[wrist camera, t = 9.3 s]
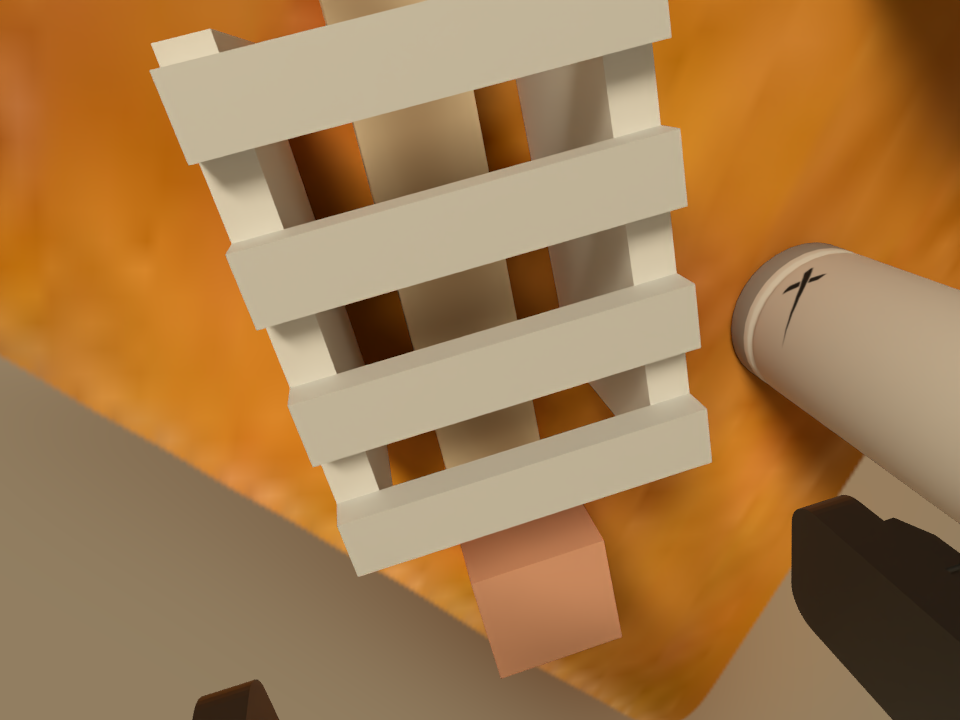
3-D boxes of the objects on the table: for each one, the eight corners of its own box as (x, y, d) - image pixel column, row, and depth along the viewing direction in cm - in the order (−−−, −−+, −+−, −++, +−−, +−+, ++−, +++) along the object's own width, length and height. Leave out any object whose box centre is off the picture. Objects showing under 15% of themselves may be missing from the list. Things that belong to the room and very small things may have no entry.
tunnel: (532, -27, 22) (659, -88, 13) (596, 351, 28) (713, 476, 19) (217, 52, 21) (137, 41, 12) (353, 425, 27) (363, 590, 18)
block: (554, 454, 30) (603, 540, 24) (573, 540, 32) (622, 637, 26) (445, 488, 29) (471, 584, 24) (471, 573, 31) (500, 678, 26)
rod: (341, -437, 18) (344, -589, 14) (514, 410, 29) (544, 466, 25) (206, -417, 17) (168, -567, 13) (435, 432, 28) (453, 493, 24)
